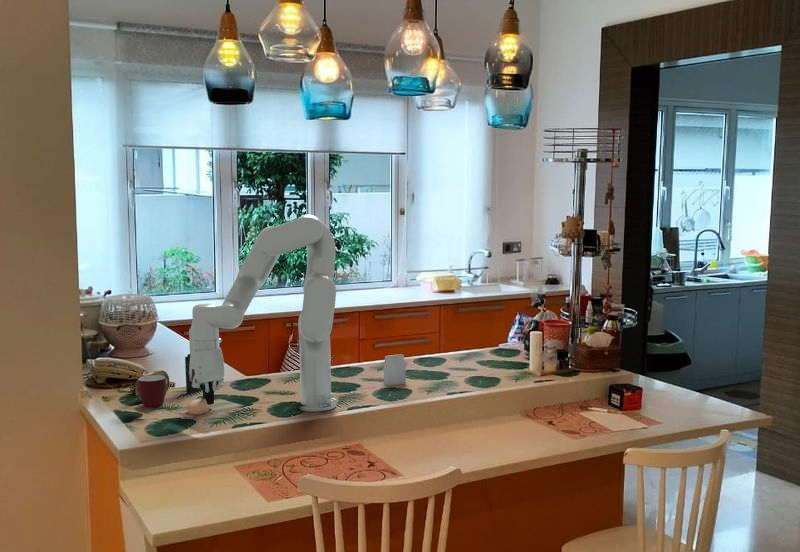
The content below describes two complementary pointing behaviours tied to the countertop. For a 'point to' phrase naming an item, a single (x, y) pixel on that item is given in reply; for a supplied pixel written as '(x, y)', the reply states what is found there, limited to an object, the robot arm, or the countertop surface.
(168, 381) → the tin
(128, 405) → the countertop surface
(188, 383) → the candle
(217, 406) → the tan piece
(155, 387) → the mug
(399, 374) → the grey tall block
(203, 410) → the tan round bun
